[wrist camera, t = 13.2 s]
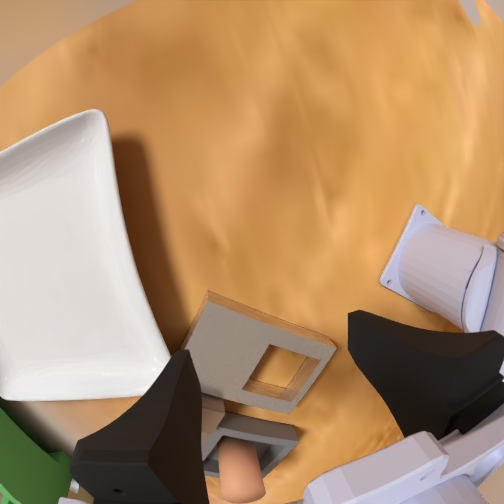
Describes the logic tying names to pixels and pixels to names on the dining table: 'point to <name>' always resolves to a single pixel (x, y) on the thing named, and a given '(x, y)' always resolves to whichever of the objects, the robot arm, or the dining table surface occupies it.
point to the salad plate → (70, 272)
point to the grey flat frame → (250, 353)
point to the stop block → (211, 412)
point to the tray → (260, 431)
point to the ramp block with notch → (30, 468)
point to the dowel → (239, 470)
